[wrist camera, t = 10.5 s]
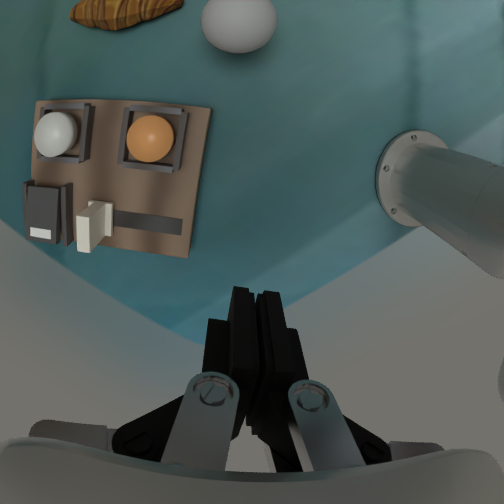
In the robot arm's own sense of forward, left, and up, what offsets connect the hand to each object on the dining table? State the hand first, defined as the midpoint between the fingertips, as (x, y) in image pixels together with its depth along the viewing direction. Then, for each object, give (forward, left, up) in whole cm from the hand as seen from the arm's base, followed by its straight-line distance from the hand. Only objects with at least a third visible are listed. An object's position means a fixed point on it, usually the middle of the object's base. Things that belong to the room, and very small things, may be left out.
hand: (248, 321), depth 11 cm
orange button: (+9, -4, -21) cm, 23 cm away
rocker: (+21, +5, -20) cm, 29 cm away
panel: (+14, 0, -24) cm, 28 cm away
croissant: (+16, -19, -25) cm, 35 cm away
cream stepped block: (+14, +5, -21) cm, 25 cm away
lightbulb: (+3, -16, -24) cm, 29 cm away
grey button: (+19, -4, -19) cm, 27 cm away
